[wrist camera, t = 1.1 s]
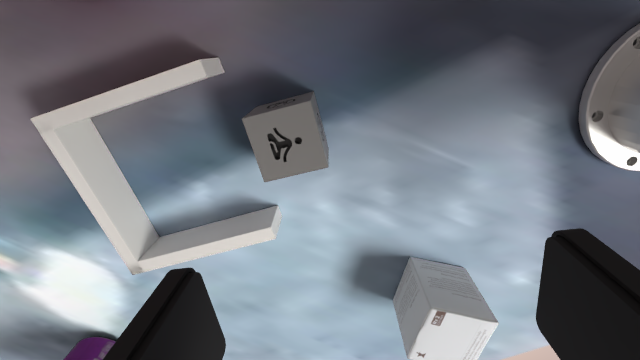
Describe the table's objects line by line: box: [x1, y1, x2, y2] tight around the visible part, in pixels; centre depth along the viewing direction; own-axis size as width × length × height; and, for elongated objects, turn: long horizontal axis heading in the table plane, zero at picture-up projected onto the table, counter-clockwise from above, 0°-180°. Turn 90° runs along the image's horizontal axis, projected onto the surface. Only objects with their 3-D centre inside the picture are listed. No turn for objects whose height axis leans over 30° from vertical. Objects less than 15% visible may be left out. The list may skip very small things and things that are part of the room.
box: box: [31, 58, 282, 275], centre depth 27 cm, size 14×15×4 cm
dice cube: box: [242, 91, 329, 182], centre depth 25 cm, size 5×5×5 cm
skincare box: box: [393, 257, 499, 360], centre depth 30 cm, size 6×6×7 cm
